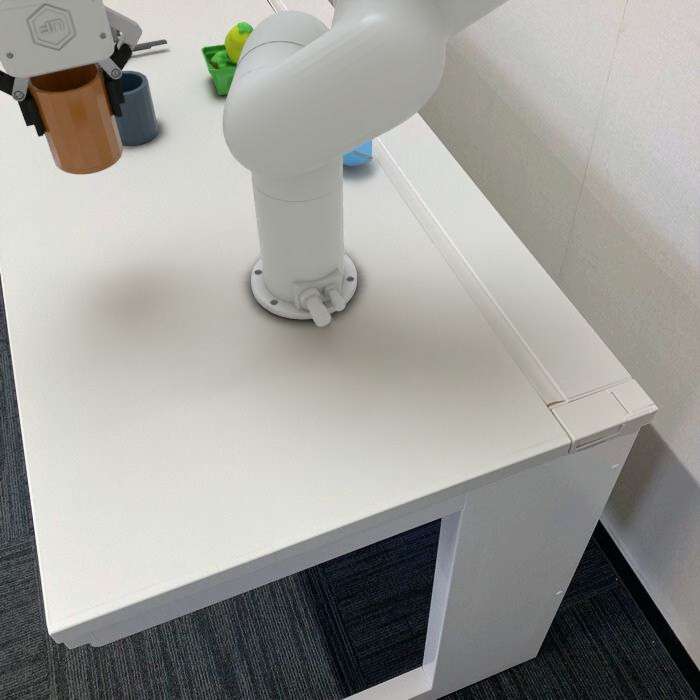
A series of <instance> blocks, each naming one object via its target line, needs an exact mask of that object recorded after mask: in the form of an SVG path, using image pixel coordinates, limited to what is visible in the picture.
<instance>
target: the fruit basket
mask: <svg viewBox="0 0 700 700" xmlns="http://www.w3.org/2000/svg"><path fill="white" fill-rule="evenodd" d="M253 30H254V27H252V25H251V24H250V23H248V22H246V21H240V22H238V23H237V24H236V25H234V26H233V27H232V28H231V29H230V30H229V31H228V32H227V34H226V35H225V38H224V44H217V45H209V46H208V45H207V46H203V47H202V48H201V49H200V51H201V54H202V56H203V59H204V62H205V65H206V68H207V70H208V73H209V74H210V75H211V78H212V81H213V83H214V85H215V88H216V91H217V93H218V96H226V95H227V96H228V92H229V89H230V86H231V83H232V80H233V77H234V73H235V70H236V67H237V64H238V61H239V58H240V55H241V52H242V49H243V47H244V45H245V43H246V41H247V39H248V37H249V35H250V34H251V32H252V31H253Z"/></svg>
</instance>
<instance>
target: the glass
mask: <svg viewBox="0 0 700 700" xmlns="http://www.w3.org/2000/svg"><path fill="white" fill-rule="evenodd" d="M28 88H29V91H30V94H31V96H32V97H33V100H34V103H35V106H36V109H37V112H38V115H39V117H40V120H41V123H42V126H43V129H44V132H45V134H44V135H45V136H44V137H45V139H46V142H47V145H48V147H49V151H50V153H51V156H52V160H53V162H54V165H55V166H56V167H57V168H58V169H59V170H60V171H62V172H64V173H67V174H71V175H78V176H79V175H81V176H82V175H92V174H96V173H100V172H102V171H105V170H107V169H109V168H111V167H113V166H114V165H115V164H116V163H117V162H119V160H120V159H121V158H122V155H123V152H124V149H123V144H122V142H121V139H120V135H119V131H118V127H117V124H116V120H115V116H114V113H113V109H112V105H111V102H110V98H109V94H108V90H107V87H106V83H105V79H104V75H103V71H102V69H101V66H100V65H99V64H98V63H93V64H89V65H84V66H80V67H75V68H71V69H66V70H62V71H57V72H53V73H48V74H44V75H39V76H34V77H30V78H29V83H28Z"/></svg>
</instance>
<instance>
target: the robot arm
mask: <svg viewBox="0 0 700 700" xmlns="http://www.w3.org/2000/svg"><path fill="white" fill-rule="evenodd" d="M509 1H510V0H336V2H335V6H334V10H333V16H332V20H331V25H330V28H329V26H327V25H326V24H325V22H323V21H322V20H320V19H319V18H317V17H316V16H314V15H312V14H311V13H307V12H304V11H301V10H293V9H292V10H291V9H290V10H282V11H277V12H275V13H272V14H270V15H268V16H266V18H264V19H262V20H261V21H260V22H259V23H258V24H257V25H256V26H255V27H253V29H254V30H253V31H252V32H251V34H250V35H249V37H248V39H247V41H246V43H245V45H244V47H243V49H242V52H241V55H240V58H239V61H238V64H237V67H236V70H235V73H234V77H233V80H232V83H231V86H230V89H229V92H228V94H227V96H226V99H225V103H224V107H223V111H222V112H223V113H222V133H223V137H224V141H225V143H226V146H227V148H228V151H229V152H230V153H231V155H232V157H233V158H234V159H235V160H236V162H237V163H239V164H240V165H241V166H242V167H244V168H245V169H246V170H248V171H250V174H251V185H252V192H253V202H254V210H255V218H256V225H257V234H258V242H259V249H260V250H259V251H260V258H259V259H258V261H256V263H255V265H254V266H253V267H252V270H251V274H250V286H251V291H252V295H253V296H254V299H255V300H256V301H257V302H258V304H259V305H260V306H262V307H263V308H264V309H265V310H267V311H268V312H270V313H272V314H274V315H277V316H279V317H282V318H286V319H290V320H291V319H292V320H312V321H313V322H314V324H315V325H316V326H317V327H319V328H323V327H326V326H327V325H329V324H330V323H331V322H332V318H333V317H332V315H331V314H333V313H335V312H342V311H343V310H344V309H346V306H347V304H348V303H349V301H350V300H351V299H352V298H353V297H354V295H355V292H356V290H357V286H358V272H357V271H358V270H357V267H356V265H355V264H354V261H353V260H352V259H351V258H350V256H348V254H346V253H345V243H344V242H345V241H344V240H345V239H344V237H345V236H344V179H343V178H344V177H343V176H344V164H343V155H344V154H346V153H348V152H350V151H352V150H353V149H355V148H357V147H359V146H361V145H363V144H365V143H367V142H369V141H371V140H372V141H373V140H375V139H376V138H378V137H380V136H382V135H384V134H386V133H388V132H389V131H391V130H393V129H394V128H397V127H398V126H400V125H402V124H403V123H405V122H406V121H408V120H410V119H411V118H412V117H414V115H416V114H417V113H418V112H419V111H420V110H422V108H423V107H424V106H425V105H426V104H427V103H428V102H429V100H431V98H432V97H433V95H434V94H435V92H436V90H437V89H438V87H439V85H440V83H441V80H442V78H443V77H442V76H443V74H444V68H445V65H446V44H447V42H448V41H449V40H451V39H452V38H453V37H454V36H456V35H458V33H460V32H462V31H463V30H465V29H467V28H468V27H470V26H472V25H473V24H474V23H476V22H478V21H479V20H481V19H482V18H484V17H486V16H487V15H490V13H492V12H493V11H495V10H496V9H498V8H500V7H501V6H503V5H504V4H506V3H507V2H509ZM110 27H112V28H114V29H116V30H118V31H120V33H121V36H120V37H121V38H120V40H118V41H117V42H116V44H115V45H114V41H113V37H112V33H111V29H110ZM142 34H143V29H142V28H141V26H140V25H139V23H138V22H137V21H135V20H133V19H131V18H129V17H127V16H126V15H124V14H122V13H120V12H119V11H116V10H114V9H112V8H110V7H109V6H107V5H104V1H103V0H0V64H1V67H3V69H4V71H5V72H4V71H3V70H1V69H0V92H1V93H4V94H6V95H8V96H11V97H12V99H13V100H14V101H17V105H18V107H19V110H20V112H21V115H22V117H23V120H24V123H25V126H26V127H30V126H34V128H35V132H36V135H37V137H38V138H40V137H45V136H44V135H45V132H44V129H43V126H42V123H41V120H40V117H39V115H38V112H37V109H36V106H35V103H34V100H33V97H32V96H31V94H30V91H29V88H28V83H29V78H30V77H34V76H39V75H44V74H48V73H53V72H57V71H62V70H66V69H71V68H75V67H80V66H84V65H89V64H93V63H98V64H99V65H100V67H101V69H102V71H103V75H104V79H105V83H106V87H107V90H108V94H109V98H110V102H111V105H112V109H113V113H114V115H115V117H116V116H117V118H118V117H122V116H123V115H122V111H121V108H120V104H124V103H125V98H124V94H123V90H122V86H121V82H120V79H119V78H120V77H121V75H122V71H123V69H124V68H125V66H126V65H127V64H128V62H129V60H130V59H131V58H132V56H133V52H132V50H133V49H134V48H135V46H136V44H138V42H139V40H140V39H141V36H142Z"/></svg>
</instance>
